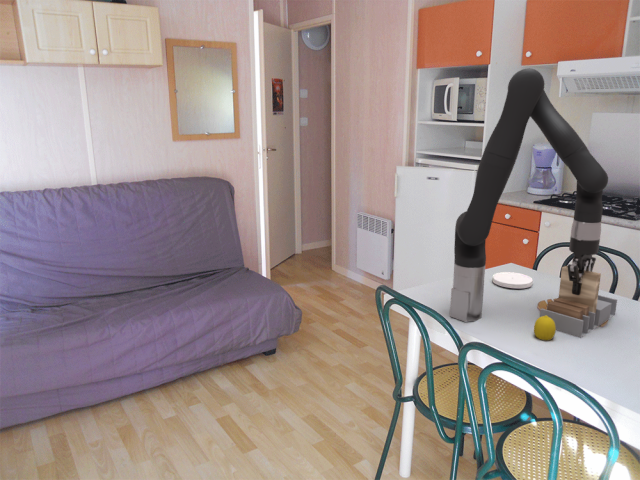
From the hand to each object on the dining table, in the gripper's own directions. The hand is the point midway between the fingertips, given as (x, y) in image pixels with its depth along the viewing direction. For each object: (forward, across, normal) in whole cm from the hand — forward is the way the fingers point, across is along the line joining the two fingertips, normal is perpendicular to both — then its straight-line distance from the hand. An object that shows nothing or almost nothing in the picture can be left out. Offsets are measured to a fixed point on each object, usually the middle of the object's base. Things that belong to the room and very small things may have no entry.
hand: (578, 292), depth 151 cm
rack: (+11, -2, 0) cm, 11 cm away
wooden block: (+9, 0, 0) cm, 9 cm away
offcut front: (+9, +8, 0) cm, 12 cm away
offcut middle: (+9, +4, 0) cm, 10 cm away
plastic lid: (+11, -21, -32) cm, 40 cm away
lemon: (+11, +17, -1) cm, 20 cm away
